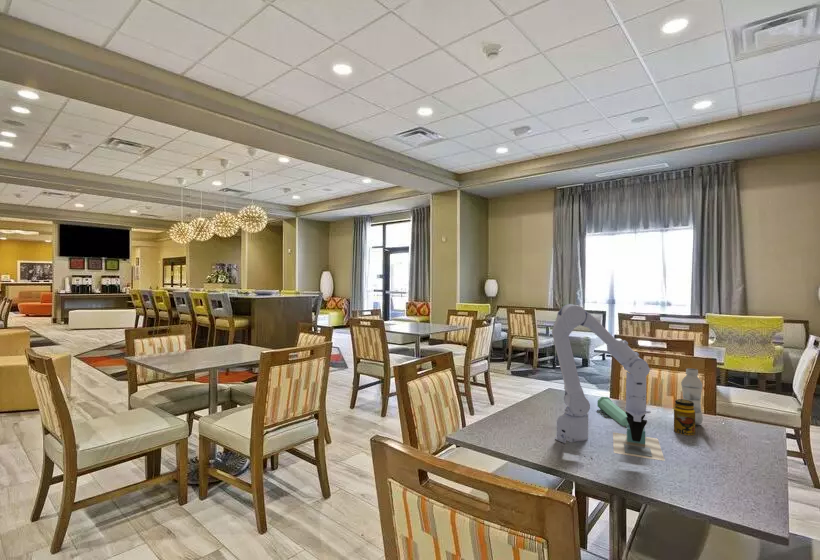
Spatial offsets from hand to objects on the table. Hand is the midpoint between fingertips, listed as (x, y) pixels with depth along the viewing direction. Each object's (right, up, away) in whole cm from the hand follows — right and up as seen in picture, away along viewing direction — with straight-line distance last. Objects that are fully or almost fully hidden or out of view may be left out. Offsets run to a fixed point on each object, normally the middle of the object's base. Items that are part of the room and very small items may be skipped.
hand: (635, 438), depth 136 cm
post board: (-2, -2, -4) cm, 5 cm away
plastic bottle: (+31, -3, +21) cm, 38 cm away
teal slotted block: (0, -1, 0) cm, 1 cm away
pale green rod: (+6, -3, +25) cm, 26 cm away
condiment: (+20, -3, +9) cm, 22 cm away
